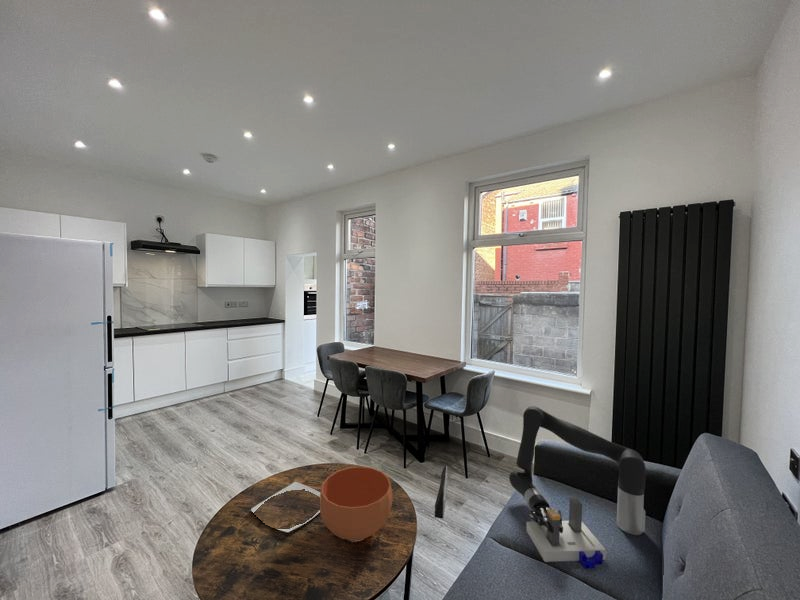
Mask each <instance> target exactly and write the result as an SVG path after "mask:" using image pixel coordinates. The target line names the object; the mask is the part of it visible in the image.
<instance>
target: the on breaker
mask: <svg viewBox="0 0 800 600" xmlns="http://www.w3.org/2000/svg"><path fill="white" fill-rule="evenodd" d="M568 505H569V506H568V507H569V508H568V511H569V512H568V521H569V526H570V528H571V529H572V530H573V531H574V533H577V532H581V526H582V522H583V521H582V520H583V516H582V515H583V503H582V502H581V501H580V500H579V499H578V497H570V498H569V504H568Z"/></svg>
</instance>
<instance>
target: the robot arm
mask: <svg viewBox="0 0 800 600" xmlns="http://www.w3.org/2000/svg"><path fill="white" fill-rule="evenodd" d="M522 415H523V416H522V417H523V418H522V421H523V423H522V435H521V441H520V445H519V449H518V453H517V458H516V466H517V467H518V468H520V469H521V470H523V472H522V471H521V472H520V471H517V470H515V471H511V472H510V473H509V479H508V481H509V482H510V485H511V487H512V488H513V489H514V490H516V491H517V493H519V494H520V495H522V497H523V499H524V500H525V502H526V504H527V505H528V506H529V508H530V510H531V511H529V518H530V519H531V521H533V522H536V523H537V524H539V525H540V526H542V525H544V526H545V527H546V528H547V529H548V531H549V532H551V533H554V529H553V527H552V525H551V524H550V523H549V522H548V520H547V509H552V508H551V506H550V504H549V503H548V501H547V500H546V499H545V497H544V496H543V495H542V493H541V492H540V491H538V489H537V487H536V486H535V485H534V484H533V472H532V471H533V470H532V467H533V461H534V455H535V448H536V439H537V436H538V432H539V430H540V428H542V429H545V430H547V431H549V432H551V433H553V434H554V435H556V436H557V437H558V438H559V439H561V440H563V441H564V442H566V443H568V445H571V446H573V447H574V448H576V449H579V450H581V451H582V452H583V451H584V452H587V453H591V454H594V455H595V454H597V455H602V456H603V457H607V458H608V459H611V460H613V461H615V462H616V463H618V465H619V467H618V472H619V473H618V480H617V504H616V506H617V508H616V525H617V527H618V528H619V529H620V530H621V531H623V532H625V533H626V534H629V535H632V536H640V535H642V534H643V533H645V532H646V530H645V529H646V528H645V526H646V510H645V509H644V501H645V500H644V497H645V489H646V476H647V475H646V474H647V473H646V472H647V469H646V468H647V467H646V465H645V464H646V463H645V461H644V459H643V457H642V455H641V454H640V453H639V452H637V451H636V450H634V449H632V448H629V447H626V446H623V445H620V444H619V443H618V444H617V443H614V442H612V441H609V440H608V439H606V438H603V437H601V436H599V435H597V434H595V433H593V432H591V431H589V430H587V429H585V428H582V427H580V426H578V425H576V424H573V423H571V422H568V421H565V420H563V419H560V418H558V417H556V416H553V415H552V414H550V413H548V412H547V411H545V410H543V409H541V408H540V407H538V406H534V405H532V406H531V405H530V406H528V407H527V408H526V409H525V410H524V412H523V414H522ZM557 512H558V514H559V515H560V533H563V526H562V521H563V515H562V511H561V510H559V509H558V510H557Z"/></svg>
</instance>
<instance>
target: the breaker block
mask: <svg viewBox="0 0 800 600" xmlns="http://www.w3.org/2000/svg"><path fill="white" fill-rule="evenodd" d="M562 526H563V533H560V536H559V546H552V545H551V544H550V542H549V541H548V539H547V528H546V527H545V526H544V525H542V526H540V525H539V524H537V523H536V522H535V521H526V529H525V531H526V533H527V534H528V536H529V538H530V540H531V541H532V543H533V545H534V546H535V548H536V549H537V551H538V553H539V555H540V557H541V558H542V560H543V561H544V562H545V563H549V562H577V561H578V562H579V551H583V552H584V553H585V554H586V557H592V556H593V555H594V554H595V552H596V551H600V552H601V553H602V554H603V561H604V560H606V557H607V556H606V553H607V549H606V548H605V547H604V546H603V544H601V542H600V541H599V540H598V539H597V538H596V536H595V535H594V534H593V533H592V532H591V531H590V529H589V528H588V527H587V526H586V525H585V523H584V522H583V521H582V526H581V532H577V533H574V531H573V530H572V529H571V528H570V526H569V520H562Z"/></svg>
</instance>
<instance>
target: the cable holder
mask: <svg viewBox="0 0 800 600" xmlns="http://www.w3.org/2000/svg"><path fill="white" fill-rule="evenodd" d="M578 562H579V563H580V564H581V566H582V567H583V569H584V570H586V569H590V570H591V569H596V566H597V565H598V566H600V565H603V562H604V560H603V554H602V553H601V552H600V551H596V552H595V554H594V555H593V556H592V557H586V554H585V553H584V552H583V551H579V561H578Z"/></svg>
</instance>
